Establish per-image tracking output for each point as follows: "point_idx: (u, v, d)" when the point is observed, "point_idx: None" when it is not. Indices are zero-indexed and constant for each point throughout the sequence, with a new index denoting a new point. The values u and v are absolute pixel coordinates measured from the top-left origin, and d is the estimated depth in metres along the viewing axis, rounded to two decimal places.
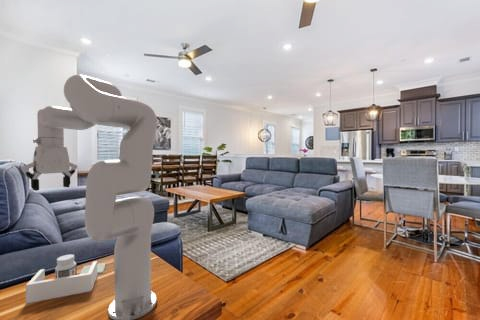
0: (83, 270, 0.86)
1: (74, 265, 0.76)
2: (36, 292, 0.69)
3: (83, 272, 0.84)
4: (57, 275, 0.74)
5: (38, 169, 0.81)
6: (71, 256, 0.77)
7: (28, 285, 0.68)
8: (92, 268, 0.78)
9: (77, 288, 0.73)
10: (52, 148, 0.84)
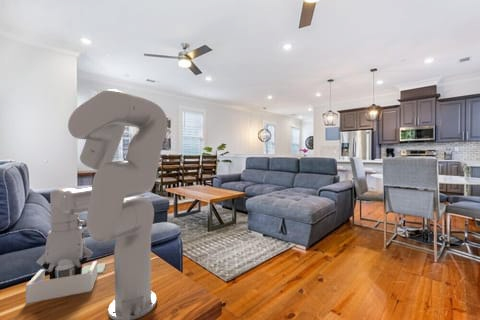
0: (83, 270, 0.86)
1: (74, 265, 0.76)
2: (36, 292, 0.69)
3: (83, 272, 0.84)
4: (57, 275, 0.74)
5: None
6: None
7: (28, 285, 0.68)
8: (92, 268, 0.78)
9: (77, 288, 0.73)
10: None
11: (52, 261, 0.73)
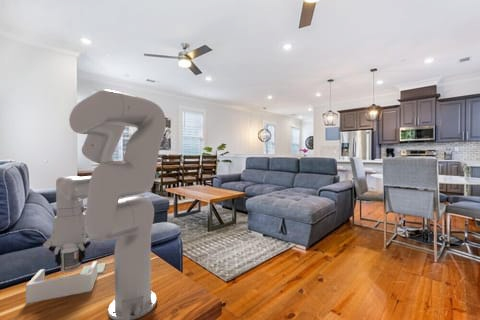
0: (83, 270, 0.86)
1: (78, 248, 0.81)
2: (36, 292, 0.69)
3: (83, 272, 0.84)
4: (62, 257, 0.78)
5: None
6: None
7: (28, 285, 0.68)
8: (92, 268, 0.78)
9: (77, 288, 0.73)
10: None
11: (58, 244, 0.78)
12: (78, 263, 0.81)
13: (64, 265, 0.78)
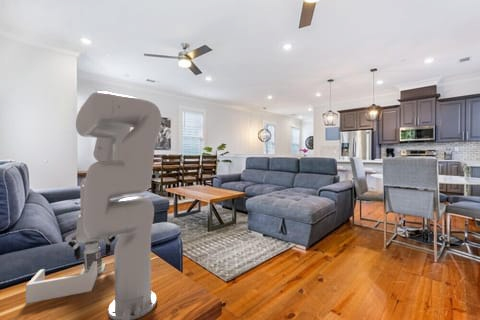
0: (83, 270, 0.86)
1: (99, 249, 0.87)
2: (36, 292, 0.69)
3: (83, 272, 0.84)
4: (85, 258, 0.84)
5: None
6: (96, 242, 0.88)
7: (28, 285, 0.68)
8: (92, 268, 0.78)
9: (77, 288, 0.73)
10: None
11: (82, 241, 0.84)
12: (100, 263, 0.87)
13: (87, 265, 0.84)
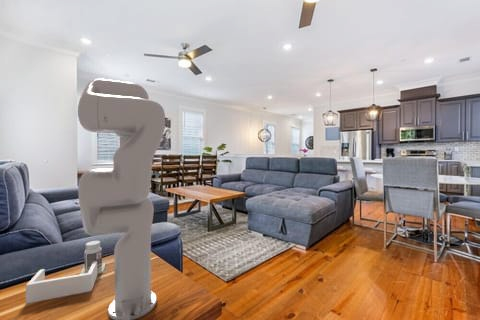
0: (83, 270, 0.86)
1: (100, 250, 0.87)
2: (36, 292, 0.69)
3: (83, 272, 0.84)
4: (86, 258, 0.84)
5: None
6: (97, 242, 0.88)
7: (28, 285, 0.68)
8: (92, 268, 0.78)
9: (77, 288, 0.73)
10: None
11: None
12: (100, 263, 0.87)
13: (87, 265, 0.84)
